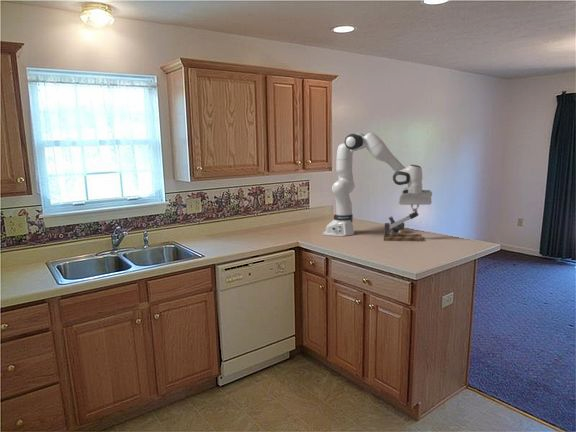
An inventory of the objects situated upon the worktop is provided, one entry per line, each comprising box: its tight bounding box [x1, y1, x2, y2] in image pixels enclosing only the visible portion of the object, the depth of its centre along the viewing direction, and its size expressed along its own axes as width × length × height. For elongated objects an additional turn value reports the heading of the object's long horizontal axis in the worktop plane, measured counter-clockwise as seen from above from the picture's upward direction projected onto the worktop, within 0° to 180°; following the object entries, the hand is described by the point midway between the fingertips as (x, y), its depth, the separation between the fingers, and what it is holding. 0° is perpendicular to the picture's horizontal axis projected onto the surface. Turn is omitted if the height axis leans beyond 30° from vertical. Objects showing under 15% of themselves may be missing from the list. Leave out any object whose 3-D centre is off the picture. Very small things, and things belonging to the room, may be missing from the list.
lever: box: [389, 211, 419, 230], centre depth 269 cm, size 21×4×3 cm, turn 75°
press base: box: [383, 222, 423, 242], centre depth 271 cm, size 24×12×10 cm, turn 76°
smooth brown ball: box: [398, 229, 406, 236], centre depth 271 cm, size 4×4×4 cm
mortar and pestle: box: [388, 216, 405, 234], centre depth 290 cm, size 11×9×12 cm
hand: (414, 211), depth 267 cm, fingers closed
